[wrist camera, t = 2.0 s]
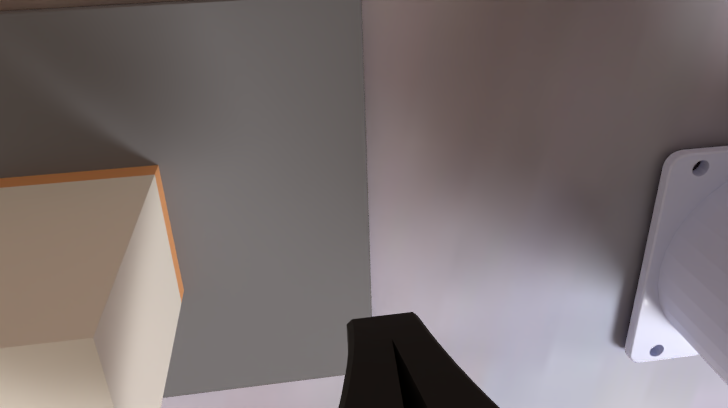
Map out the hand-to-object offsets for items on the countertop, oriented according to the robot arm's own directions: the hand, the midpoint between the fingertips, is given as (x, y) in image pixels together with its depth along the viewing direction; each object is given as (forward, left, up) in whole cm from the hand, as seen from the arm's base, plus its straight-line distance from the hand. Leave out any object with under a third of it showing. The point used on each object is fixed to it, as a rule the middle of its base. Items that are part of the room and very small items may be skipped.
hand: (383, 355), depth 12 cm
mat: (+8, 0, -6) cm, 11 cm away
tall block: (+7, 0, -6) cm, 9 cm away
